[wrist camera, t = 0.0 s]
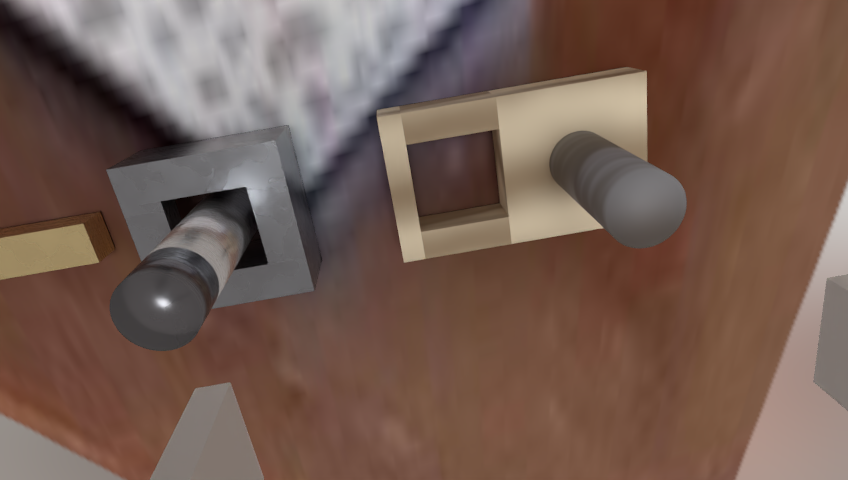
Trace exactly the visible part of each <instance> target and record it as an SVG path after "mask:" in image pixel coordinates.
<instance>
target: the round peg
mask: <svg viewBox="0 0 848 480" xmlns="http://www.w3.org/2000/svg"><path fill="white" fill-rule="evenodd" d="M257 229H258V226H257V223H256V219H255V216H254V212H253V209H252V205H251V202H250V198H249V195H248V192H247V188H246V187H241V188H235V189H229V190H224V191H218V192H212V193H208V194H207V195H206V196H205V197H204V198H203V199H202V200H201V201H200V202H199V203H198V204H197V205H196V206H195V207H194V208H193V209H192V210H191V211H190V212H189V213H188V214H187V215H186V216H185V217H184V218H183V219H182V220H181V222H180V223H179V224H178V225H177V226H176V227H175V228H174V229H173V230H172V231H171V232H170V233H169V234H168V235H167V236H166V237H165V238H164V239H163V240H162V241H161V242H160V243H159V244H158V245H157V246H156V247H155V248H154V249H153V250H152V251H151V252H150V253H149V254H148V255H147V257H146V258H145V259H144V260H143V261H142V262H141V263H140V264H139V265H138V266H137V267H136V268H135V269H134V270H133V271H132V272H131V273H130V274H129V275H128V276H127V277H126V278H125V279H124V280H123V281H122V282H121V283H120V284H119V285H118V286H117V288H116V289H115V290H114V292H113V294H112V297H111V300H110V314H111V317H112V320H113V322H114V324H115V326H116V328H117V329H118V330H119V332H120V333H121V334H122V335H123V336H124V337H125V338H126V339H128V340H129V341H131V342H132V343H134V344H136V345H138V346H140V347H143V348H146V349H150V350H156V351H167V350H173V349H177V348H180V347H182V346H184V345H186V344H187V343H189V342H190V341H191V340H192V339H193V338H194V337H195V336H196V334H197V333H198V331H199V329H200V328H201V326H202V324H203V322H204V321H205V319H206V317H207V315H208V314H209V312H210V310H211V309H212V307H213V305H214V303H215V302H216V300H217V298H218V296H219V295H220V293H221V291H222V290H223V288H224V286H225V284H226V283H227V281H228V279H229V277H230V276H231V274H232V272H233V270H234V269H235V267H236V265H237V264H238V262H239V260H240V258H241V257H242V255H243V253H244V251H245V250H246V248H247V246H248V245H249V243H250V241H251V239H252V238H253V236H254V234H255V232H256V231H257Z"/></svg>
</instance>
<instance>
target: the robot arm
mask: <svg viewBox="0 0 848 480" xmlns="http://www.w3.org/2000/svg"><path fill="white" fill-rule="evenodd" d="M814 382H815V384H817V385H818V386H819V387H820V388H822V390H824V391H825V392H826V393H827V394H828V395H830V396H831V397H832V398H833V399H834V400H836V401H837V402H838V403H839V404H840V405H841V406H842V407H844V408H845V409H846V410H847V411H848V275H842V276H836V277H831V278H827V281H826V289H825V297H824V304H823V312H822V320H821V328H820V335H819V343H818V351H817V358H816V366H815V374H814ZM150 480H264V477H263V474H262V472H261V469H260V466H259V463H258V460H257V457H256V454H255V452H254V449H253V446H252V443H251V440H250V437H249V434H248V432H247V429H246V426H245V423H244V420H243V417H242V414H241V412H240V409H239V406H238V403H237V400H236V397H235V394H234V392H233V389H232V386H231V383H224V384H219V385H213V386H207V387H201V388H196V389H195V390H194V392H193V394H192V396H191V398H190V400H189V402H188V404H187V406H186V408H185V410H184V412H183V414H182V416H181V418H180V420H179V422H178V424H177V426H176V428H175V430H174V432H173V434H172V436H171V438H170V440H169V442H168V444H167V446H166V448H165V450H164V452H163V454H162V456H161V458H160V460H159V462H158V464H157V466H156V468H155V470H154V472H153V474H152V477H151V479H150Z"/></svg>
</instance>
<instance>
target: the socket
mask: <svg viewBox="0 0 848 480" xmlns="http://www.w3.org/2000/svg"><path fill="white" fill-rule="evenodd" d="M106 171H107V173H108V176H109V178H110V181H111V184H112V186H113V189H114V191H115V194H116V197H117V199H118V202H119V204H120V207H121V210H122V212H123V215H124V217H125V220H126V223H127V225H128V228H129V230H130V233H131V236H132V238H133V241H134V243H135V246H136V249H137V251H138V254H139V256H140V259H141V262H142V261H143V260H144V259H145V258H146V257H147V255H148V254H149V253H150V252H151V251H152V250H153V249H154V248H155V247H156V246H157V245H158V244H159V243H160V242H161V241H162V240H163V239H164V238H165V237H166V236H167V235H168V234H169V233H170V232H171V231H172V230H173V229H174V228H175V227H176V226H177V225H178V224H179V223H180V222H181V220H182V219H181V216H180V213H179V211H178V208H177V205H176V202H175V200H176V199H177V198H183V197H189V196H195V195H200V194H206V193H212V192H218V191H224V190H229V189H235V188H241V187H246V188H247V192H248V195H249V198H250V202H251V205H252V209H253V212H254V216H255V219H256V223H257V226H258V229H259V233H260V236H261V239H259V240H253V241H250V243H249V245H248V246H247V248H246V250H245V251H244V253H243V255H242V257H241V258H240V260H239V262H238V264H237V265H236V267H235V269H234V270H233V272H232V274H231V276H230V277H229V279H228V281H227V283H226V284H225V286H224V288H223V290H222V291H221V293H220V295H219V296H218V298H217V300H216V302H215V303H214V305H213V307H212V309H213V308H219V307H225V306H231V305H236V304H242V303H248V302H254V301H259V300H265V299H271V298H277V297H282V296H288V295H294V294H300V293H305V292H311V291H315V287H316V283H317V279H318V274H319V270H320V266H321V262H322V258H321V254H320V250H319V246H318V242H317V238H316V234H315V230H314V226H313V222H312V218H311V214H310V210H309V206H308V202H307V198H306V194H305V190H304V186H303V182H302V178H301V174H300V170H299V166H298V162H297V158H296V154H295V150H294V146H293V142H292V138H291V134H290V130H289V126H288V125H286V126H281V127H275V128H269V129H263V130H257V131H252V132H246V133H240V134H234V135H228V136H222V137H217V138H211V139H205V140H199V141H193V142H188V143H182V144H176V145H170V146H164V147H159V148H153V149H147V150H141V151H139V152H137V153H135V154H133V155H132V156H130V157H128V158H126V159H124V160H123V161H121V162H119V163H117V164H116V165H114V166H112V167H110V168H109V169H107V170H106Z"/></svg>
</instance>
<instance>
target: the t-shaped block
mask: <svg viewBox="0 0 848 480" xmlns="http://www.w3.org/2000/svg"><path fill="white" fill-rule="evenodd" d="M114 249H115V247H114V245H113V242H112V240H111V237H110V235H109V232H108V230H107V227H106V225H105V222H104V220H103V217H102V215H101V212H96V213H90V214H84V215H78V216H73V217H67V218H61V219H55V220H49V221H44V222H38V223H32V224H26V225H21V226H15V227H9V228H3V229H0V280H1V279H7V278H13V277H18V276H24V275H30V274H36V273H41V272H47V271H53V270H59V269H65V268H70V267H76V266H82V265H88V264H93V263H99V262H100V261H102V260H103V259H104V258H105V257H106V256H107V255H108V254H110V253H111V252H112V251H113V250H114Z"/></svg>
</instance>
